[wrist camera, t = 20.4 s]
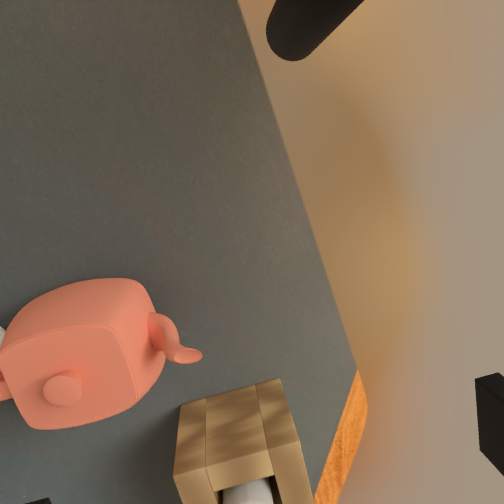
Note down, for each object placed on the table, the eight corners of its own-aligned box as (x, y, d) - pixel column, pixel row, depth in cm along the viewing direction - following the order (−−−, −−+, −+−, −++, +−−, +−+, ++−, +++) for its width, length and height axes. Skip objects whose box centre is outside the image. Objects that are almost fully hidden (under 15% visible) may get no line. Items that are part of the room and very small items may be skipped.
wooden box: (279, 377, 43) (299, 441, 34) (298, 457, 47) (321, 535, 37) (180, 404, 43) (172, 476, 33) (207, 482, 46) (206, 569, 37)
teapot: (38, 391, 41) (-30, 485, 29) (-5, 292, 37) (-101, 355, 26) (216, 346, 42) (219, 421, 30) (190, 247, 38) (181, 287, 27)
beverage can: (249, 454, 46) (262, 555, 34) (213, 442, 45) (215, 542, 33) (266, 423, 45) (286, 516, 33) (231, 410, 44) (238, 502, 32)
